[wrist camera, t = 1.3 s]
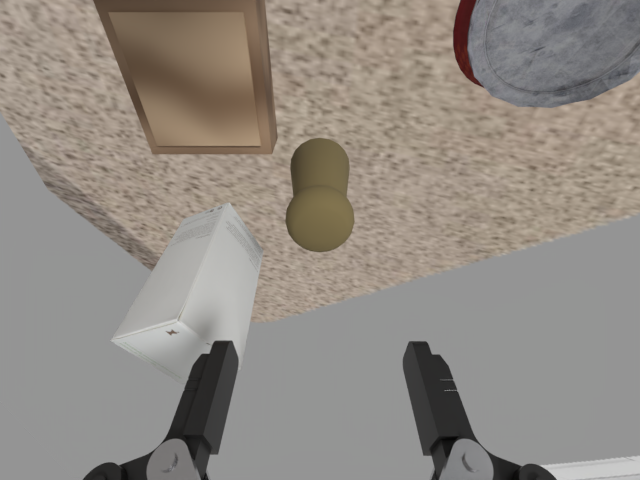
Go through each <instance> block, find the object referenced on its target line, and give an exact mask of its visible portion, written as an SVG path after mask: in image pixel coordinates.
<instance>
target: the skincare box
mask: <svg viewBox="0 0 640 480" xmlns="http://www.w3.org/2000/svg"><path fill="white" fill-rule="evenodd" d="M263 252H264V251H263V249H262V248H261V246H260V245H259V243H258V242H257V241H256V239H255V238H254V236H253V235H252V233H251V232H250V231H249V229H248V228H247V226H246V225H245V223H244V222H243V221H242V219H241V218H240V216H239V215H238V214H237V212H236V211H235V209H234V208H233V207H232V205H231V204H230V203H225V204H222V205H220V206H217V207H214V208H211V209H209V210H206V211H203V212H201V213H198V214H196V215H193V216H190V217H187V218H185V219H183V221H182V222H181V224H180V226H179V228H178V229H177V231H176V232H175V234H174V236H173V237H172V239H171V241H170V242H169V244H168V246H167V247H166V249H165V251H164V252H163V254H162V256H161V257H160V259H159V261H158V262H157V264H156V266H155V268H154V269H153V271H152V273H151V274H150V276H149V277H148V279H147V281H146V282H145V284H144V286H143V287H142V289H141V291H140V292H139V294H138V296H137V297H136V299H135V301H134V302H133V304H132V306H131V307H130V309H129V311H128V312H127V314H126V316H125V318H124V320H123V321H122V322H121V324H120V326H119V327H118V329H117V331H116V332H115V334H114V336H113V337H112V339H111V340H110V341H111V342H113V343H115V344H116V345H118V346H120V347H121V348H123V349H125V350H126V351H128V352H130V353H131V354H133V355H135V356H136V357H138V358H140V359H141V360H143V361H145V362H146V363H148V364H150V365H152V366H153V367H155V368H156V369H158V370H160V371H161V372H163V373H165V374H166V375H168V376H169V377H171V378H173V379H174V380H176V381H177V382H179V383H181V384H184V383H186V382H187V380H188V377H189V374H190V371H191V369H192V366H193V364H194V363H195V362H196V360H197V359H198V358H199V356H200V355H201V354H209V353H210V350H211V347H212V344H213V343H214V341H216V340H232V341H233V344H234V346H235V349H236V352H237V355H238V359H239V364H238V371H240V370H241V367H242V362H243V357H244V351H245V346H246V341H247V335H248V330H249V325H250V319H251V314H252V309H253V303H254V298H255V293H256V288H257V282H258V277H259V272H260V267H261V262H262V256H263Z"/></svg>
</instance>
